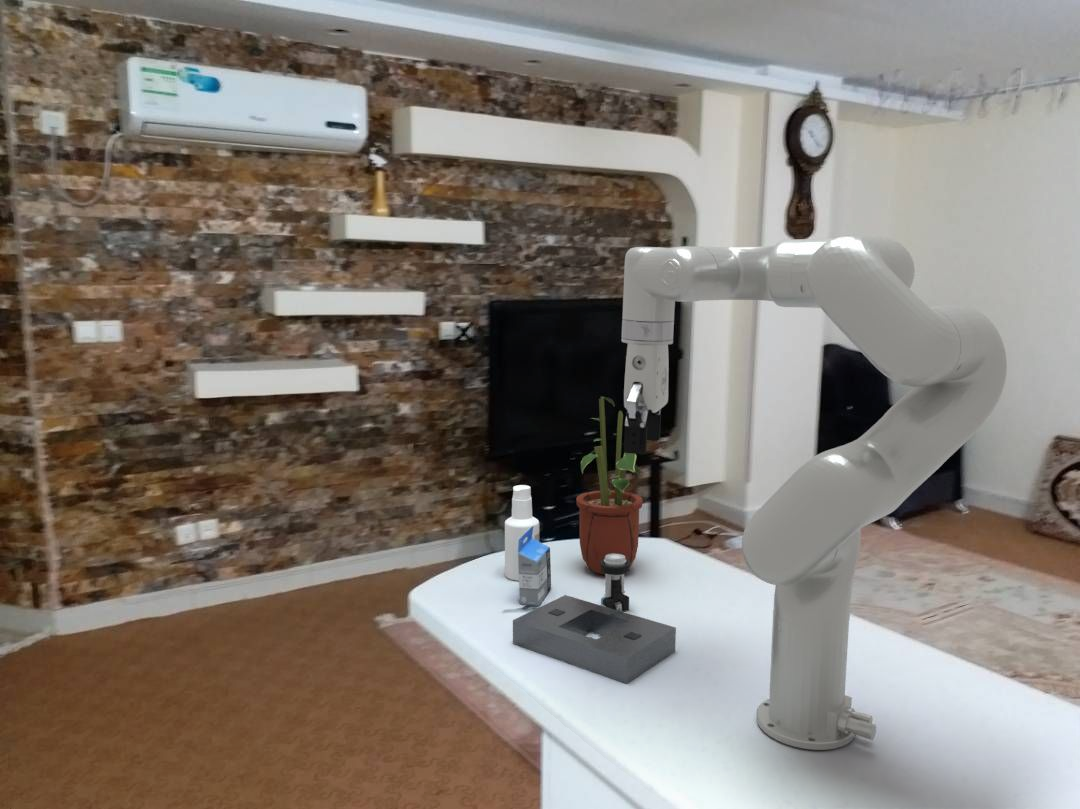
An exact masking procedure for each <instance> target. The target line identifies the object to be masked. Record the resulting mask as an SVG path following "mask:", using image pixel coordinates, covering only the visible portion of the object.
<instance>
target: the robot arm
mask: <svg viewBox="0 0 1080 809" xmlns="http://www.w3.org/2000/svg"><path fill="white" fill-rule="evenodd" d="M915 270H916V269H915V262H914V260H913V257H912V255H911V254H910V252H909V250H908V249H907V248H906V247H905V246H904V245H903V244H902V243H899V241H897V240H894V239H891V238H888V237H883V236H869V235H868V236H867V235H843V236H837V237H835V238H834V237H832V238H831V237H830V238H803V239H802V238H801V239H798V238H797V239H795V238H794V239H793V238H790V239H783V240H780V241H778V242H776V244H775V245H768V246H767V245H766V246H738V247H737V246H736V247H735V246H732V247H731V246H730V247H729V246H725V247H723V246H685V245H684V246H674V247H662V246H661V247H660V246H657V247H655V246H636V247H631V248H629V249H628V250H627V251H626V253H625V256H624V268H623V273H624V274H623V296H622V297H623V298H622V321H621V342H622V343H625V344H627V345H626V346H627V347H626V356H625V367H624V368H625V372H624V385H623V386H624V388H623V407H624V408H625V410H626V412H625V420H624V433H623V434H624V438H623V439H624V441H623V453H624V452H625V453H632V454H636V455H645V454H646V453H647V441H655V442H658V441H659V440H661V423H662V420H661V419H662V414H661V412H662V408H664V407H665V406H666V405H667V404H668V403H669V370H670V368H669V362H670V361H669V360H670V359H669V345H673V344H674V325H675V308H676V302H682V303H683V302H685V303H687V302H700V301H702V302H703V301H733V300H735V301H736V300H737V301H766V302H767V301H768V302H773V303H774V304H775V305H777V307H782V308H811V309H812V308H814V309H816V308H817V309H821V310H822V311H823V313H824V314H825V315H826V316H827V317H828V318H829V319H830V321H831V322H832V323H833V324H834V325H835V326H836V327H837V328H838V330H840V332H841V333H842V334H843V335H844V336H845V337H846V338H847V339H848V340H849V341H850V342H851V343H852V344H853V345H854V346H855V347H856V348H857V349H858V351H860V352H861V353H862V355H863V356H864V357H865V358H866V359H867V360H868V361H869V362H870V363H871V364H872V365H873V366H874V367H875V368H876V370H878V371H879V372H880V373H881V374H883V375H884V376H885V377H886V378H888V379H890V380H891V381H893V382H895V383H897V384H900V385H902V386H908V387H913V388H912V389H911V390H909V391H908V392H906V394H905V395H903V396H902V397H901V398H900V399H899V400H897V401H896V402H895V403H894V404H893V405H891V407H890V408H889V409H887V411H886V412H885V413H884V414H883V416H882V417H881V418H879V419H878V420H877V422H875V424H873V425H872V426H871V427H870V428H869V429H868V430H867V431H866V432H864V433H863V434H862V435H861V436H859V437H858V438H857V439H855V440H852V441H851V442H848V443H845V444H844V445H839V446H836V447H834V448H831V449H828V450H824V451H822V452H820V453H818V454H816V455H814V456H813V457H810V459H809V460H807V461H806V462H805V463H803V464H802V465H801V466H800V467H799V468H797V470H796V471H795V472H794V473H793V474H792V475H790V477H789V478H788V479H787V480H785V481H784V483H783V484H782V485H781V486H780V487H779V488H778V489H777V490H776V491H775V492H774V493H773V494H772V495H771V496H770V497H769V498H768V499H767V500H766V501H765V502H764V503H763V505H761V507H760V508H759V509H758V510H757V511H756V512H754V513H753V515H752V516H751V518H750V519H749V520H748V522H747V524H746V526H745V527H744V530H743V534H742V538H741V551H742V556H743V560H744V562H745V565H746V566H747V568H748V569H749V571H750V572H751V573H752V574H753V575H754V576H755V577H756V578H758V579H759V580H760V581H762V582H764V583H766V584H769V585H774V586H775V588H774V595H773V596H774V597H773V610H772V631H771V634H772V635H771V649H770V650H771V653H770V675H769V676H770V677H769V678H770V679H769V698H767V699H766V700H764V701H762V702H761V703H760V704H759V705H758V707H757V709H756V722H757V726H759V728H760V729H761V730H762V731H763V732H764V733H765V734H766V735H767V736H769V737H771V738H772V739H774V740H775V741H778V742H780V743H782V744H784V745H788V746H790V747H794V748H799V749H803V750H810V751H811V750H812V751H816V750H817V751H826V750H834V749H837V748H839V749H840V748H842V747H844V746H846V745H848V744H849V743H850V742H853V739H854V738H855V736H856V735H857V736H858V737H861V738H865V739H866V740H867V739H868V740H871V741H873V740H874V738H875V737H876V733H877V726H876V724H874V723H873V716H872V715H869V714H866V713H863V712H862V713H861V712H858V711H856V710H855V709H854V708H853V707H852V703H853V701H852V699H853V697H851V696H849V695H846V682H847V680H846V678H847V665H848V664H847V661H848V660H847V659H848V648H849V647H848V646H849V631H850V629H849V628H850V619H851V618H850V616H851V602H852V592H853V584H854V579H855V572H856V568H857V564H858V560H859V555H860V551H861V550H860V549H861V542H862V530H861V529H863V528H864V527H866V526H868V525H869V524H872V523H874V522H876V521H878V520H881V519H883V518H884V517H886V516H888V515H890V514H891V513H893V512H895V511H896V510H897V509H899V507H900V506H901V505H902V504H903V502H905V501H906V500H907V499H908V498H909V497H910V496H911V495H912V493H914V492H915V491H916V490H917V489H918V488H919V487H920V486H921V485H922V484H923V483H924V482H925V481H927V480H928V478H930V477H931V476H932V475H933V474H934V473H935V472H936V471H937V470H939V469H940V467H942V466H943V464H944V463H945V462H947V460H948V459H950V457H952V456H953V455H954V454H955V453H956V452H957V451H958V450H959V449H960V448H962V446H963V445H965V444H966V443H967V441H968V440H970V439H971V438H972V437H973V436H974V435H975V434H976V432H977V431H978V430H979V429H980V428H982V426H983V425H984V423H985V422H986V421H987V420H988V418H990V416H991V414H992V413H993V411H994V410H995V407H996V406H997V404H998V402H999V401H1000V399H1001V396H1002V394H1003V390H1004V387H1005V383H1006V377H1007V371H1008V370H1007V368H1008V366H1007V353H1006V349H1005V345H1004V341H1003V339H1002V337H1001V334H1000V333H999V331H998V328H997V327H996V325H995V324H994V323H993V322H992V321H991V320H990V318H989V317H987V315H985V314H984V313H983V312H980V311H979V310H977V309H974V308H973V307H969V306H965V305H958V304H941V305H940V304H939V305H938V304H937V305H929V306H928V305H927V304H926V303H925V302H924V301H923V300H922V299H921V298H920V297H918V295H916V293H914V291H913V290H911V287H912V285H913V282H914V279H915V278H914V277H915V273H916V272H915Z"/></svg>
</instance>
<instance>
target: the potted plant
mask: <svg viewBox="0 0 1080 809" xmlns="http://www.w3.org/2000/svg"><path fill="white" fill-rule="evenodd" d="M605 400H606V401H608V402H609V403H610V404H612V406H613V407H615V406H616V405H615V402H614V400H613V399H612V398H610V397H606V396H601V397H600V398H599V399H598V403H599V404H598V407H599V408H598V409H599V417H597V418H596V417H591V418H590V419H593V420H595V421H598V422H599V429H600V438H595V439H594V440H593V442H596V441H598V442H599V441H600V445H596V446H594V447H593V448H594V450H592V451H591V452H590V453H589V454H587V455H584V456H583V457H582V460H581V461H580V470H581V474H582V475H583V474H584V470H585V468H587V467H586V466H587V465H588V464H590V463H591V462H592V461H593V460H594V459H596V467H597V468H596V469H597V473H598V482H599V490H592V491H586V492H583V493H581V494H579V495H577V496H576V498H575V499H576V506H577V508H579V546H580V552H581V557H582V560H583V561H584V563H585V565H586V566H587V568H588V569H590V570H591V571H592V572H593V573H596V574H597V575H601V576H605V573H604V572H603V571H601V565H600V561H601V560H602V559H605V556H606V555H608V554H622V555H624V556H625V559H627V560H629V561H630V566H629V569H630V568H631V566H632V565H633V563H634V562H635V560H636V558H637V557H636V556H637V552H638V548H639V533H640V530H639V528H640V509H642V507H643V498H642V496H640V495H638V494H637V493H636V494H635V493H632V492H627V491H625V490H626V488H627V487H628V486H629V485H630V479H628V478H625V477H626V472H627V471H630V472H632V473H636V474H637V475H638V477H639V478H640V480H642V477H641V473H640V469H639V467H638V465H636V461H637V454H632V453H625V452H624V451H623V457H621V456H622V439H623V438H622V437H623V424H624V423H623V421H624V414H623V411H622V410H619V411H618V414H617V426H616V427H617V428H616V433H613V435H614V436H616V448H615V469H614V470H615V471H614V472H615V473H614V476H611V477H609V479H612V481H611V483H612V485H613V486H614V490H611V489H610V488H609V483H608V461H607V460H608V458H607V437H606V436H607V434H606V430H607V428H606V411H605V409H606V408H605ZM594 453H595V454H594ZM614 478H615V479H614Z"/></svg>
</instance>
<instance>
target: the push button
mask: <svg viewBox="0 0 1080 809" xmlns="http://www.w3.org/2000/svg"><path fill="white" fill-rule="evenodd" d="M600 565H601V571H603V572H604V573H605V575H604V576H605V578H604V579H605V582H604V583H605V584H604V587H605V589H604V592H605V593H604V595H603V596H602V597H601V598H600V605H601V606H604V607H608V608H611V609H614V610H618V611H621V612H628V611H630V596H628V595H626V591H625V574H628V573H629V570H630V568H629V566H630V561H629V560H627V559H625V556H624V555H622V554H608V555H606V556H605V559H602V560H601V561H600ZM630 567H631V566H630Z"/></svg>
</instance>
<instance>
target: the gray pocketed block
mask: <svg viewBox="0 0 1080 809" xmlns="http://www.w3.org/2000/svg"><path fill="white" fill-rule="evenodd" d="M676 631H677V627H675V626H672V625H668V624H664V623H661V622H658V621H655V620H651V619H649V618H644V617H641V616H638V615H634V614H631V613H628V612H626V611H622V612H621V611H618V610H614V609H611V608H608V607H604V606H601V604H597V603H594V602H590V601H587V600H584V599H580V598H578V597H573V596H570V595H566V594H564V595H563V596H560V597H558V598H555V599H553V600H552V601H550V602H548V603H546V604H544V605H542V606H540V607H537V608H536V609H533V610H531V611H530V612H527V613H525V614H523V615H521V616H519V617H516V618H514V619H512V645H516V646H519V647H522V648H524V649H527V650H529V651H533V652H535V653H537V654H538V653H539V654H541V655H544V656H546V657H550V658H553V659H554V660H558V661H561V662H563V663H566V664H568V665H572V666H575V667H578V668H580V669H583V670H586V671H589V672H592V673H595V674H598V675H600V676H603V677H607V678H608V679H612V680H615V681H618V682H619V683H624V684H626V685H627V684H629V683H631V682H632V681H634V680H635V679H636V678H638V677H640V676H641V675H642V674H644V673H646V671H649V670H650V669H651V668H652V667H653V668H654V666H656V665H657V664H659V663H660V662H662V661H663V660H665V659H666V658H668V657H670V655H672V654H674V653H675V652H676V642H677V639H676V638H677V637H676V636H677V635H676V633H677V632H676ZM590 633H591V634H595V635H597V636H599V637H598V638H593V637H590V636H587V635H588V634H590Z"/></svg>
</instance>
